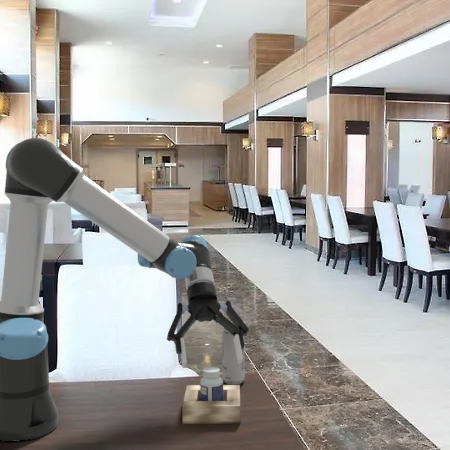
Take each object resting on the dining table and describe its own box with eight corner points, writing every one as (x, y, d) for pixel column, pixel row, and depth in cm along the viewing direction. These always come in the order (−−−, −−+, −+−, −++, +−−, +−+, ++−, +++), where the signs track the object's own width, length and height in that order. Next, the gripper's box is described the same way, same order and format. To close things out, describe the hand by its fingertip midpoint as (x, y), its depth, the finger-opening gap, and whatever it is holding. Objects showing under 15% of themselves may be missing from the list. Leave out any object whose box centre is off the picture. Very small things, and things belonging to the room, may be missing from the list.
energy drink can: (222, 377, 161) (222, 323, 159) (244, 377, 161) (244, 323, 159) (221, 385, 155) (221, 329, 153) (244, 385, 155) (244, 329, 153)
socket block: (182, 423, 131) (182, 406, 131) (187, 400, 144) (186, 385, 144) (240, 423, 131) (240, 406, 131) (239, 400, 144) (239, 385, 144)
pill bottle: (224, 405, 140) (223, 365, 139) (222, 414, 135) (221, 373, 134) (202, 404, 141) (201, 365, 140) (199, 413, 135) (198, 373, 134)
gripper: (244, 294, 158) (259, 366, 144) (151, 298, 152) (159, 374, 139) (249, 278, 152) (266, 352, 139) (153, 282, 146) (162, 359, 133)
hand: (213, 363), depth 139 cm, fingers open, 13 cm apart
